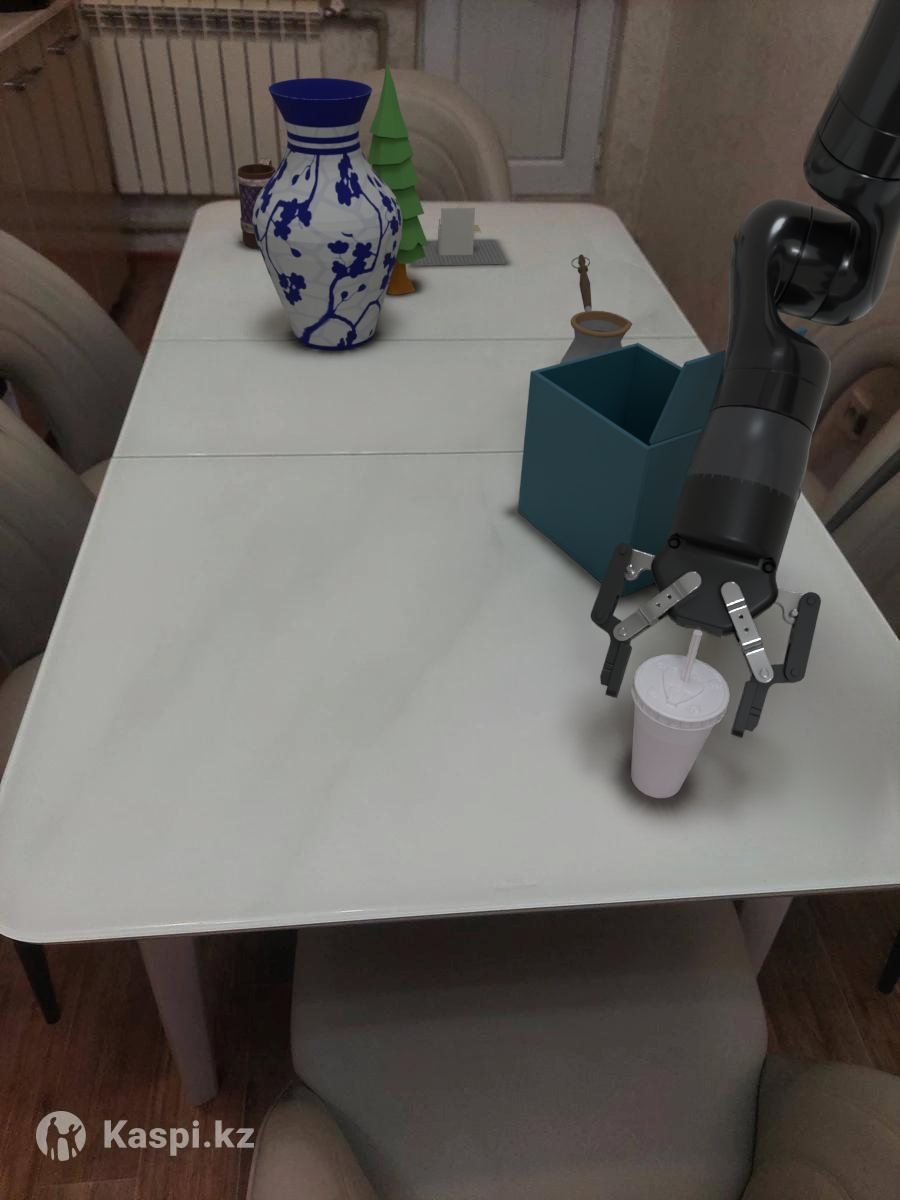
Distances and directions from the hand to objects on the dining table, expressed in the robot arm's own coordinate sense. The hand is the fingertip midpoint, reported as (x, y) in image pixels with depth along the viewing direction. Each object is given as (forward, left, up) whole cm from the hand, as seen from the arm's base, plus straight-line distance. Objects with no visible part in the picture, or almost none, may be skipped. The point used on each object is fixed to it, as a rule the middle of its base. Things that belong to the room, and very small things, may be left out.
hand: (672, 716), depth 60 cm
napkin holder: (+44, -103, -8) cm, 112 cm away
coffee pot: (+15, -56, -8) cm, 58 cm away
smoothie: (0, -1, -8) cm, 8 cm away
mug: (+76, -98, -8) cm, 124 cm away
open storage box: (+7, -31, -7) cm, 32 cm away
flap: (0, -25, +13) cm, 28 cm away
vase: (+51, -66, -8) cm, 84 cm away
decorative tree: (+48, -85, -8) cm, 98 cm away
